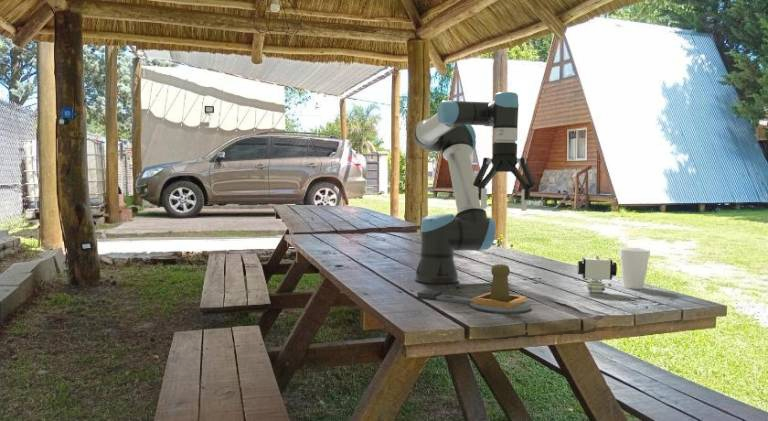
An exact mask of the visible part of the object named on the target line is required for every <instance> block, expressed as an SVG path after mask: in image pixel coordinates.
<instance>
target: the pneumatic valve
mask: <svg viewBox="0 0 768 421" xmlns="http://www.w3.org/2000/svg"><path fill="white" fill-rule="evenodd" d="M576 267H577V269H576V270H577V275H581V277H582V279H587V280H588V279H589V280H590V281H588V282H587V289H586V290H587V291H589V292H590V293H593V294H594V293H595V294H603V293H604V292H605V291H606V284H605V283H603V282H602V280H608V281H609V280H611V281H612V280H613V277H616V276H617V272H618V267H617V262H615V261H614V262H613V260H612V258H606V257H605V258H604V257H603V258H601V257H600V258H599V255H595V257H581V259H580V260H578V261H577V266H576Z"/></svg>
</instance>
